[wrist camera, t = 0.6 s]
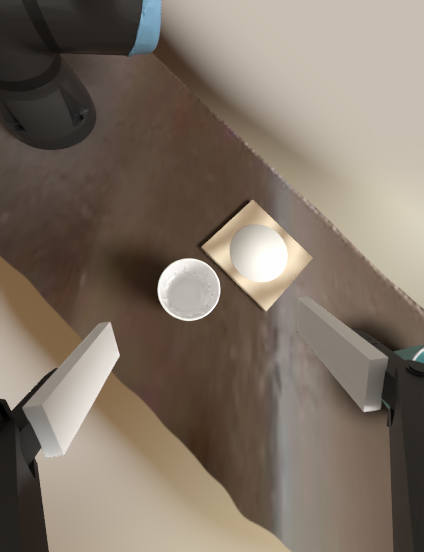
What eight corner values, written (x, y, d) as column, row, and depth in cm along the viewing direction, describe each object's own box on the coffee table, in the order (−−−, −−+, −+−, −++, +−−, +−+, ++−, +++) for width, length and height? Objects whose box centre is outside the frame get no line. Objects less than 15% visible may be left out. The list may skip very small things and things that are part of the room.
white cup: (156, 311, 35) (147, 308, 26) (173, 267, 37) (170, 249, 27) (201, 325, 36) (209, 329, 26) (215, 282, 38) (227, 270, 28)
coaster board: (201, 248, 38) (201, 246, 37) (251, 202, 42) (252, 199, 41) (264, 311, 38) (266, 311, 37) (309, 259, 41) (313, 257, 40)
